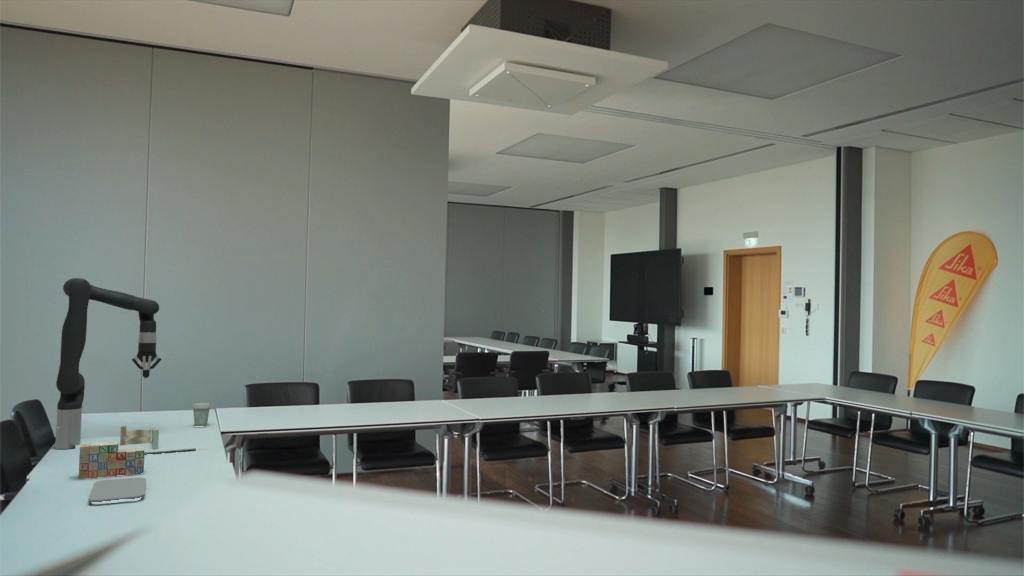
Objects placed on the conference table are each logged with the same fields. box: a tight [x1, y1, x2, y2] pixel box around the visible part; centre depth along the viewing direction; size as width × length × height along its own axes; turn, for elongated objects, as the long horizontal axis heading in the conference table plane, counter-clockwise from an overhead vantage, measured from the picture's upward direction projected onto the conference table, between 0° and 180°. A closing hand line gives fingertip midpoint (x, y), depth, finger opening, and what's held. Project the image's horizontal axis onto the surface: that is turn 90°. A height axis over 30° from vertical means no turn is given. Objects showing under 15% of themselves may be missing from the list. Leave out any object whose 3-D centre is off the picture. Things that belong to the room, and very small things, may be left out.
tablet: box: [88, 477, 147, 503], centre depth 236 cm, size 16×26×2 cm, turn 27°
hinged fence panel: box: [150, 427, 160, 450], centre depth 304 cm, size 16×2×8 cm, turn 31°
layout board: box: [144, 448, 197, 456], centre depth 306 cm, size 30×27×1 cm
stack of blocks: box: [78, 440, 145, 480], centre depth 259 cm, size 21×6×12 cm, turn 117°
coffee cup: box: [192, 402, 211, 427], centre depth 358 cm, size 9×8×12 cm
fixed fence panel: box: [119, 425, 152, 446], centre depth 307 cm, size 12×2×8 cm, turn 122°
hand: (145, 377), depth 325 cm, fingers closed
